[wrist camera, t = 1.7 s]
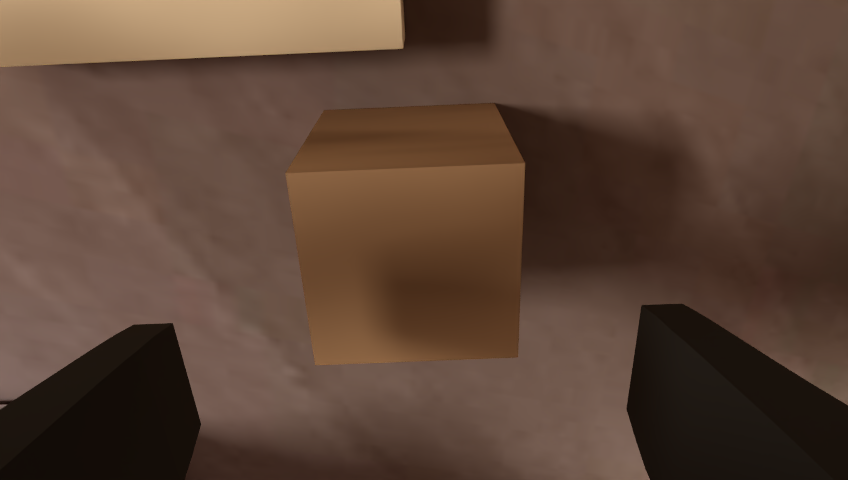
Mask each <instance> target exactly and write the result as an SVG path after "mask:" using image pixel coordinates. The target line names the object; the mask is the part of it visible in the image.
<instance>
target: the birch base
mask: <svg viewBox="0 0 848 480" xmlns="http://www.w3.org/2000/svg"><path fill="white" fill-rule="evenodd" d="M404 41H405V26H404V7H403V0H0V67H8V66H31V65H53V64H75V63H97V62H119V61H141V60H163V59H185V58H207V57H230V56H252V55H274V54H296V53H318V52H340V51H362V50H384V49H403V46H404Z"/></svg>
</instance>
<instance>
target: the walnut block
mask: <svg viewBox="0 0 848 480" xmlns="http://www.w3.org/2000/svg"><path fill="white" fill-rule="evenodd" d="M286 180H287V186H288V193H289V199H290V205H291V212H292V218H293V225H294V231H295V238H296V244H297V251H298V257H299V264H300V270H301V277H302V283H303V289H304V296H305V302H306V309H307V315H308V322H309V328H310V335H311V341H312V348H313V354H314V361H315V365H332V364H358V363H384V362H410V361H436V360H462V359H488V358H514V357H518V341H519V314H520V288H521V261H522V234H523V207H524V180H525V162H524V160H523V158H522V156H521V154H520V152H519V150H518V148H517V146H516V144H515V142H514V140H513V139H512V137H511V135H510V133H509V131H508V129H507V127H506V125H505V123H504V121H503V119H502V117H501V115H500V113H499V111H498V109H497V107H496V105H495V103H481V104H458V105H434V106H411V107H388V108H364V109H341V110H324V111H323V113H322V114H321V116H320V118H319V119H318V121H317V123H316V124H315V126H314V128H313V129H312V131H311V132H310V134H309V136H308V137H307V139H306V141H305V142H304V144H303V146H302V147H301V149H300V150H299V152H298V154H297V155H296V157H295V159H294V160H293V162H292V163H291V165H290V167H289V168H288V170H287V172H286Z"/></svg>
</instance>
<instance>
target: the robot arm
mask: <svg viewBox="0 0 848 480" xmlns="http://www.w3.org/2000/svg"><path fill="white" fill-rule="evenodd" d="M627 412H628V415H629V418H630V422H631V425H632V428H633V432H634V435H635V438H636V442H637V445H638V448H639V451H640V454H641V457H642V460H643V463H644V466H645V469H646V471H647V473H648V476H649V478H650V480H848V405H846V404H844V403H843V402H841V401H839V400H838V399H836V398H834V397H833V396H831V395H829V394H828V393H826V392H824V391H823V390H821V389H819V388H818V387H816V386H814V385H813V384H811V383H809V382H808V381H806V380H805V379H803V378H801V377H800V376H798V375H797V374H795V373H793V372H792V371H790V370H788V369H787V368H785V367H784V366H782V365H780V364H779V363H777V362H776V361H774V360H773V359H771V358H769V357H768V356H766V355H765V354H763V353H762V352H760V351H758V350H757V349H755V348H754V347H752V346H751V345H749V344H747V343H746V342H744V341H743V340H741V339H740V338H738V337H736V336H735V335H733V334H732V333H730V332H729V331H727V330H726V329H724V328H722V327H721V326H719V325H718V324H716V323H714V322H713V321H711V320H710V319H708V318H706V317H705V316H703V315H701V314H700V313H698V312H696V311H695V310H693V309H691V308H689V307H687V306H685V305H684V304H662V305H642V307H641V314H640V320H639V327H638V334H637V341H636V348H635V355H634V362H633V368H632V375H631V382H630V389H629V396H628V403H627ZM200 426H201V422H200V419H199V415H198V412H197V408H196V404H195V401H194V397H193V394H192V390H191V387H190V383H189V379H188V376H187V372H186V369H185V365H184V362H183V358H182V355H181V351H180V347H179V344H178V340H177V337H176V333H175V330H174V326H173V323H167V324H141V325H132V326H131V327H129V328H127V329H125V330H123V331H121V332H120V333H118V334H116V335H114V336H113V337H111V338H109V339H108V340H106V341H105V342H103V343H101V344H100V345H98V346H97V347H95V348H93V349H92V350H90V351H89V352H87V353H86V354H84V355H83V356H81V357H80V358H78V359H76V360H75V361H73V362H72V363H70V364H69V365H67V366H66V367H64V368H63V369H61V370H60V371H58V372H57V373H55V374H54V375H52V376H50V377H49V378H47V379H46V380H44V381H43V382H41V383H40V384H38V385H37V386H35V387H34V388H32V389H31V390H29V391H27V392H26V393H24V394H23V395H21V396H20V397H18V398H17V399H15V400H14V401H12V402H11V403H9V404H5V405H0V480H184V479H185V476H186V473H187V470H188V467H189V464H190V460H191V457H192V454H193V450H194V447H195V443H196V440H197V436H198V433H199V430H200Z"/></svg>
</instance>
